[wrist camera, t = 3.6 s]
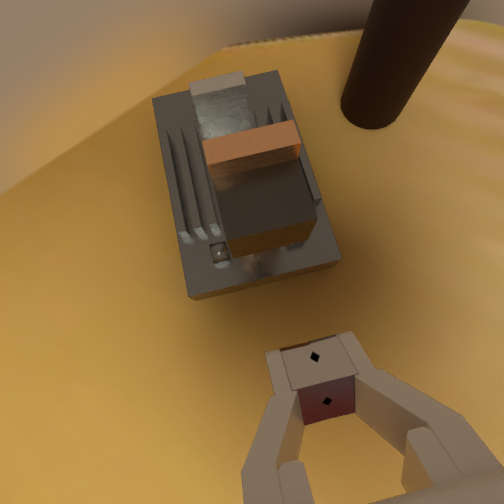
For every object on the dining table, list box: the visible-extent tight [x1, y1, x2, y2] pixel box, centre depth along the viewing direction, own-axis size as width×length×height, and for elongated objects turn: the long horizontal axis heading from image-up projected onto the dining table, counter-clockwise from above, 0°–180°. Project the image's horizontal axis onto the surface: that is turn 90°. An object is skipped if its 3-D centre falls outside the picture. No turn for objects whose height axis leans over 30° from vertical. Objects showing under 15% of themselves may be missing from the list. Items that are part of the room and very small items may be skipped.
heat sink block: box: [152, 70, 342, 301], centre depth 29 cm, size 22×14×6 cm, turn 14°
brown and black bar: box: [202, 120, 318, 259], centre depth 19 cm, size 4×4×15 cm
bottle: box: [341, 0, 470, 129], centre depth 24 cm, size 7×7×20 cm
